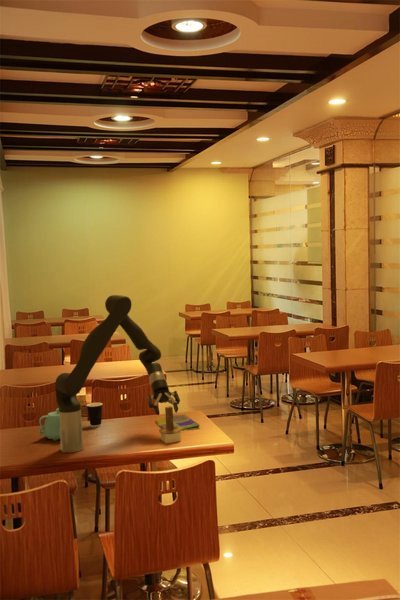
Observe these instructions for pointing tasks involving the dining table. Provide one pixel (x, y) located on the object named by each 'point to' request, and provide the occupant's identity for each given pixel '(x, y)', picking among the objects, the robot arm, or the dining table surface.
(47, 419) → the decorative pot
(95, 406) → the dixie cup
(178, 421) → the dish towel
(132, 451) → the dining table surface
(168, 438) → the beige square base
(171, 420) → the brown post on base
